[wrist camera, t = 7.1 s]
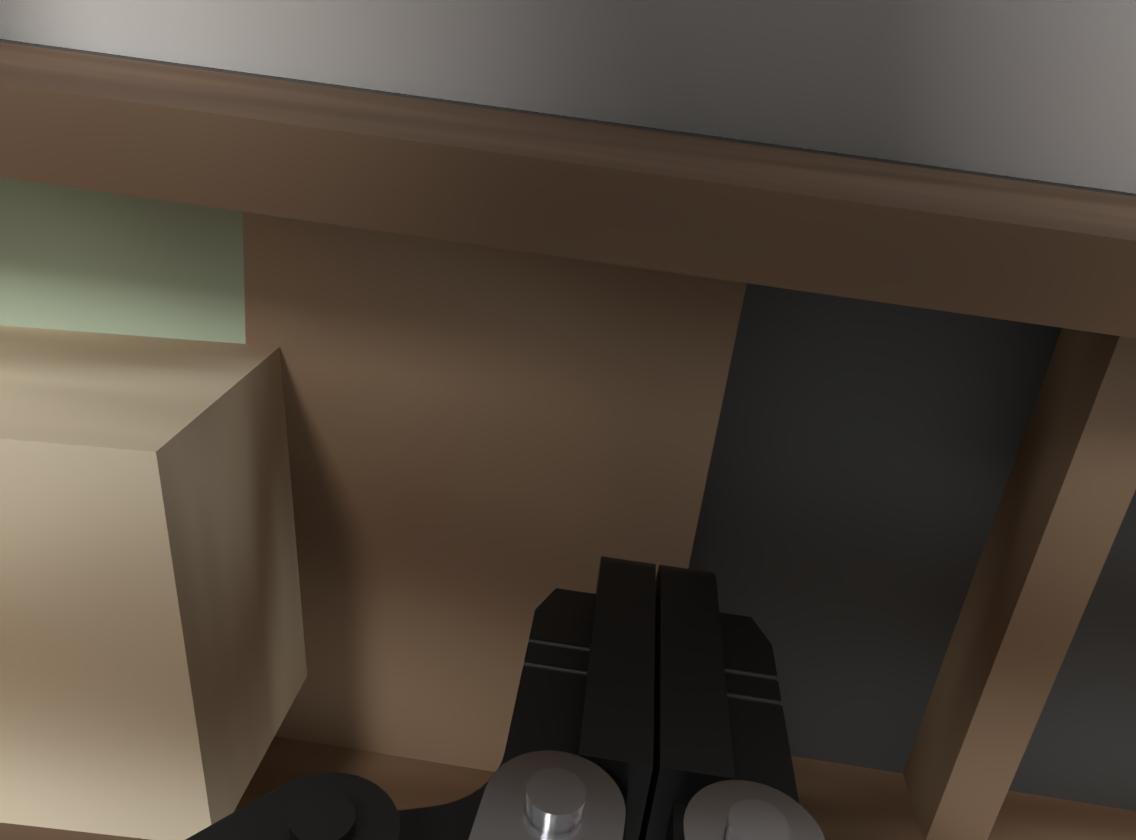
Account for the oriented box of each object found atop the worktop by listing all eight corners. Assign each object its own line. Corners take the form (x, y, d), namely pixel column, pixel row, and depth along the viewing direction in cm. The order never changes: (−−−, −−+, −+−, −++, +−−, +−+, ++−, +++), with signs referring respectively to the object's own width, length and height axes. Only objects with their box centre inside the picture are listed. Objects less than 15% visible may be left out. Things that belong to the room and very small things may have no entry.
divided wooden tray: (-151, 18, 14) (-485, 17, 10) (1590, 256, 13) (2012, 362, 9) (-36, 647, 19) (-229, 820, 15) (1241, 853, 18) (1413, 1099, 14)
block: (-109, 317, 14) (-349, 408, 11) (279, 346, 13) (155, 451, 10) (-24, 642, 16) (-198, 799, 13) (307, 675, 16) (214, 846, 13)
